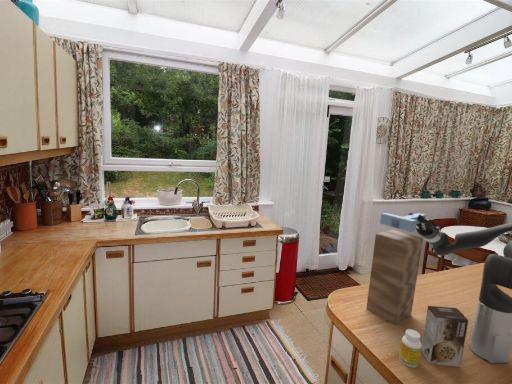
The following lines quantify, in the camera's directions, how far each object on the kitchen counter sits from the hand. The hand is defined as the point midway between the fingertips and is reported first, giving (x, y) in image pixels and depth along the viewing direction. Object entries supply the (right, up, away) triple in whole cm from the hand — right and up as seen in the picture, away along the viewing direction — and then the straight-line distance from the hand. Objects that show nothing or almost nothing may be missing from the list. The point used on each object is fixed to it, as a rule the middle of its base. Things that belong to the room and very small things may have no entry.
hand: (414, 215), depth 113 cm
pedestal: (-10, -39, +1) cm, 40 cm away
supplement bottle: (-16, -43, -25) cm, 52 cm away
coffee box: (-5, -44, -23) cm, 49 cm away
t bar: (-3, -3, -1) cm, 5 cm away
